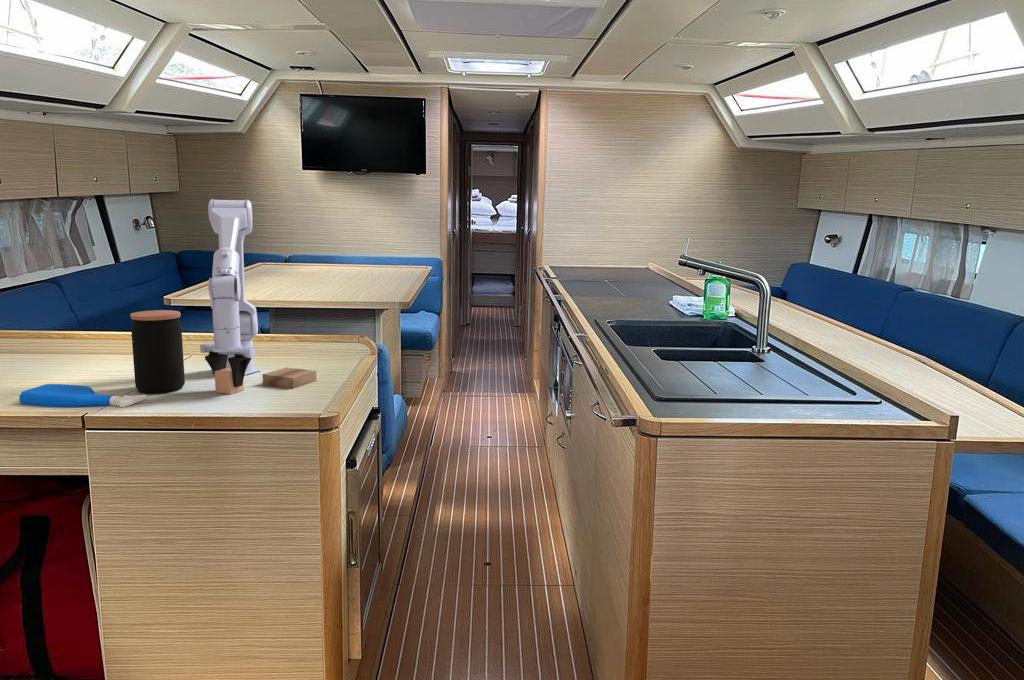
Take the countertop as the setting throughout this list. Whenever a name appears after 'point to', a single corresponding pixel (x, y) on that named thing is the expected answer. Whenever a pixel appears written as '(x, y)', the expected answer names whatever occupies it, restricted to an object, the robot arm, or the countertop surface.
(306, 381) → the walnut box
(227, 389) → the peach block
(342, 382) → the countertop surface
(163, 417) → the countertop surface
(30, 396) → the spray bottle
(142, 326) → the coffee jar
